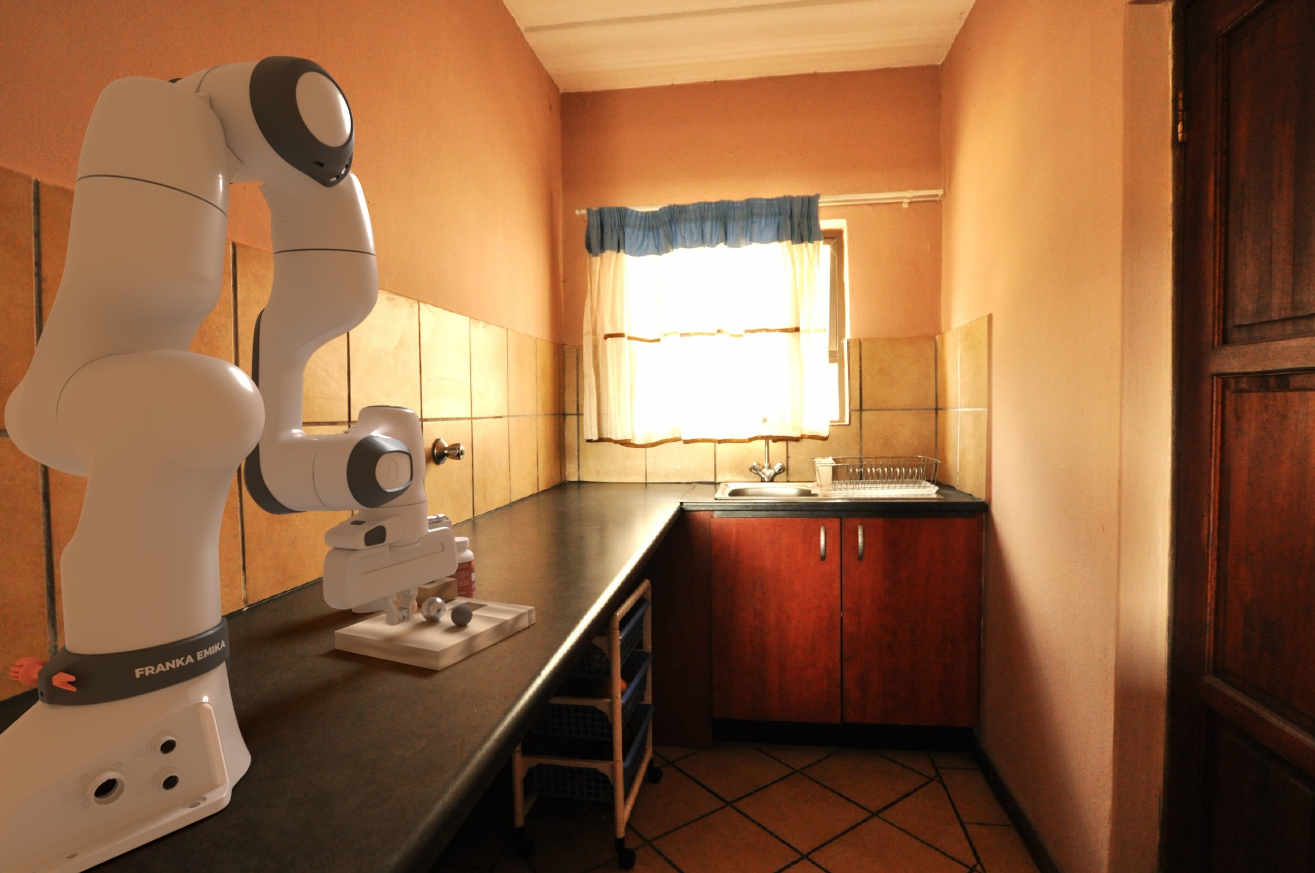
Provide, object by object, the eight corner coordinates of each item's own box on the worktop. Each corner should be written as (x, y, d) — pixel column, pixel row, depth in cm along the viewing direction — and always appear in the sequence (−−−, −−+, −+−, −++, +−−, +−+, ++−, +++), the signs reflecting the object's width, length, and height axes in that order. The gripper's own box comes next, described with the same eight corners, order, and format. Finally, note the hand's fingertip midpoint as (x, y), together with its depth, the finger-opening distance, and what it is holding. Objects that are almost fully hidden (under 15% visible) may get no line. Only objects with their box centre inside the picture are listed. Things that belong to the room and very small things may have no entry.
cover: (430, 607, 103) (428, 580, 102) (402, 603, 105) (401, 577, 105) (457, 596, 108) (456, 571, 108) (431, 593, 111) (429, 568, 111)
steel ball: (433, 625, 94) (432, 601, 94) (416, 622, 96) (415, 599, 96) (451, 618, 98) (450, 595, 97) (434, 615, 99) (433, 592, 99)
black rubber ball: (462, 630, 92) (461, 608, 92) (446, 627, 94) (445, 606, 94) (477, 623, 95) (476, 602, 95) (461, 620, 96) (460, 600, 96)
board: (439, 670, 84) (438, 651, 84) (335, 648, 94) (334, 631, 93) (535, 622, 102) (535, 607, 102) (440, 608, 111) (439, 593, 111)
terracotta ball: (406, 620, 97) (405, 600, 97) (392, 618, 99) (391, 598, 99) (422, 614, 100) (421, 595, 100) (408, 612, 101) (407, 593, 101)
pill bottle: (480, 602, 114) (478, 539, 113) (444, 609, 111) (441, 544, 110) (469, 594, 119) (467, 534, 119) (434, 601, 116) (432, 538, 115)
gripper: (434, 510, 101) (438, 599, 102) (312, 535, 83) (318, 643, 84) (465, 512, 98) (469, 603, 99) (346, 539, 80) (352, 650, 81)
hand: (399, 622), depth 91 cm, fingers closed
